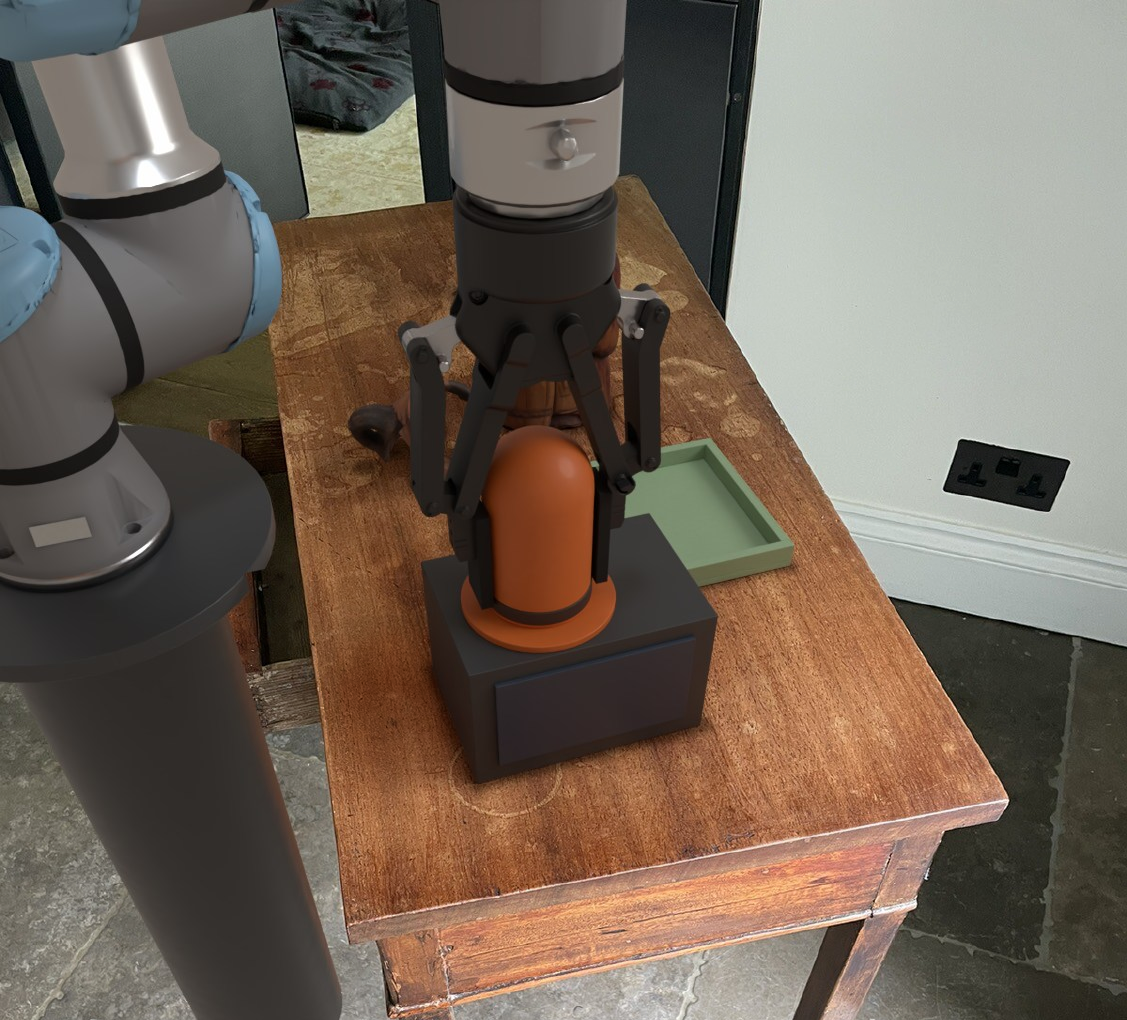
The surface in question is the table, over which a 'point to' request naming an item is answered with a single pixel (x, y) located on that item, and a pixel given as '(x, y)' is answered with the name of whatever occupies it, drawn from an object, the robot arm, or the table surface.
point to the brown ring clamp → (392, 422)
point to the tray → (709, 514)
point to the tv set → (577, 664)
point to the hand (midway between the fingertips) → (538, 581)
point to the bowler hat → (540, 546)
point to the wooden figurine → (563, 388)
